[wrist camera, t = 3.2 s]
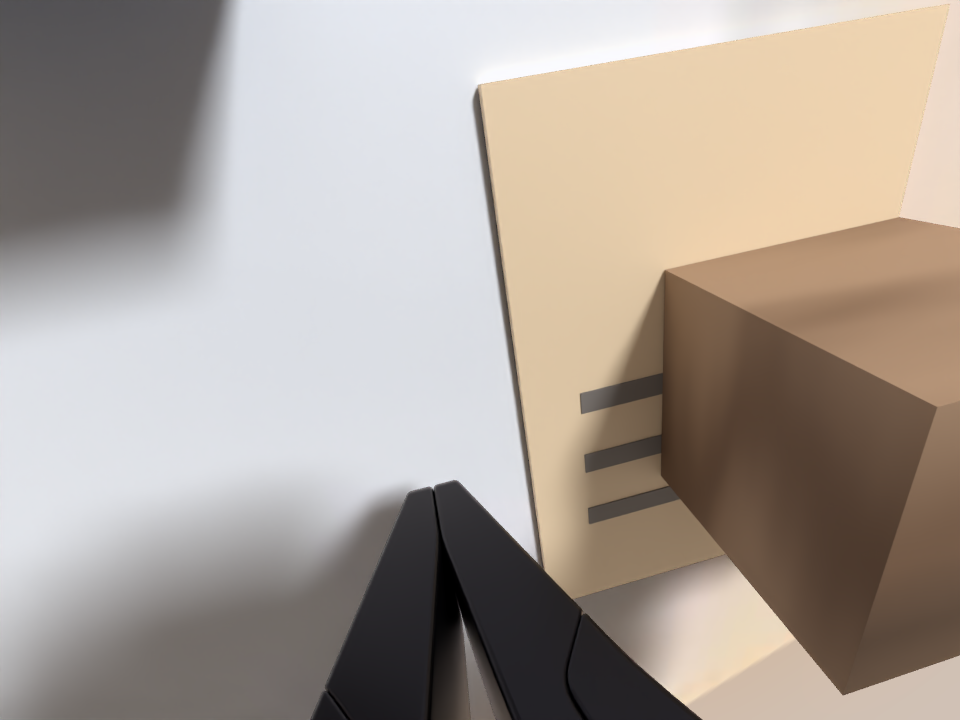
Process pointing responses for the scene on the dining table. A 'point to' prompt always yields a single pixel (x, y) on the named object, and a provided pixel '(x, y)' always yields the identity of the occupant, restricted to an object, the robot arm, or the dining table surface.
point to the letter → (671, 241)
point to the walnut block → (827, 435)
